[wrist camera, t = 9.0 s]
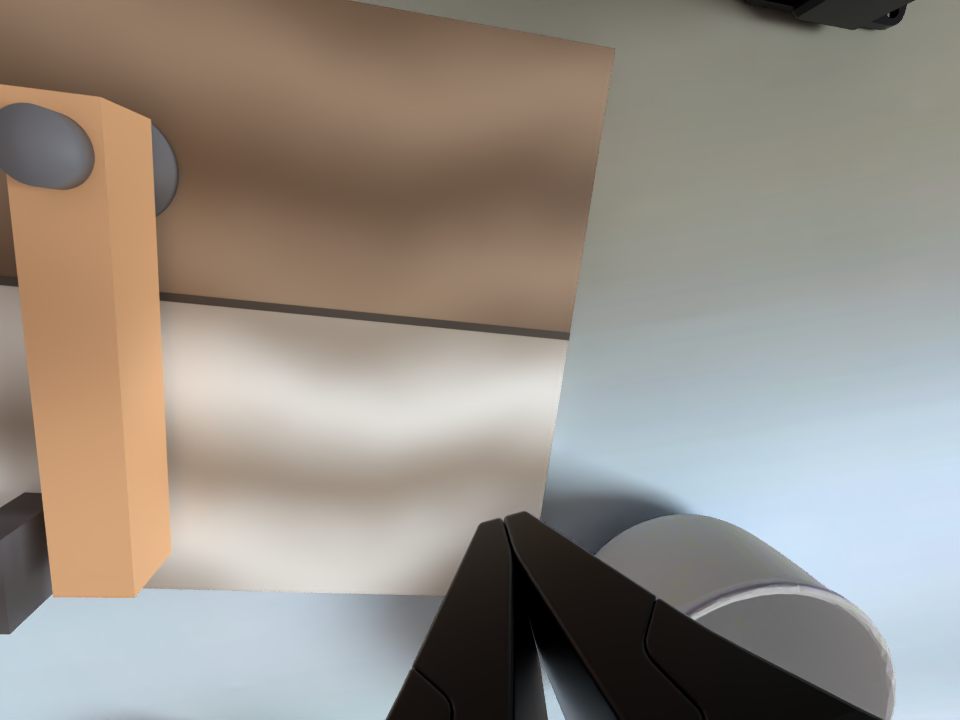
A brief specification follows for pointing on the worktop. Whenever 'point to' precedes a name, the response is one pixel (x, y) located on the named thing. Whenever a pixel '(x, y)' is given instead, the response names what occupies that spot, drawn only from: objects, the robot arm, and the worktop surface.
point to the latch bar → (90, 333)
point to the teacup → (759, 603)
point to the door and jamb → (327, 279)
